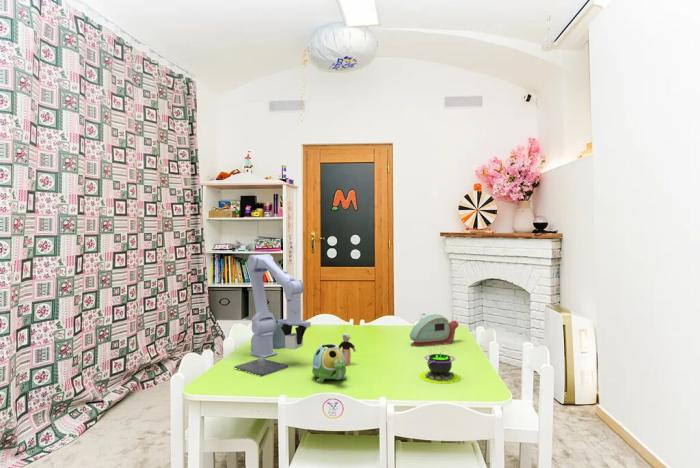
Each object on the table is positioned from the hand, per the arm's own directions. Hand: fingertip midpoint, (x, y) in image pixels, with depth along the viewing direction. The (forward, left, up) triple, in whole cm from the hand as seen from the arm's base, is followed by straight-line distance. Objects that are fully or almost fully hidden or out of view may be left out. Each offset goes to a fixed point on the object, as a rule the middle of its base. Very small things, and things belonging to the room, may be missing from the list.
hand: (294, 343), depth 188 cm
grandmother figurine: (+17, +12, -9) cm, 23 cm away
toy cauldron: (+55, +20, -9) cm, 59 cm away
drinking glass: (-27, +16, -9) cm, 32 cm away
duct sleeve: (0, 0, -1) cm, 1 cm away
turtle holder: (+24, -6, -9) cm, 26 cm away
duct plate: (-7, -12, -8) cm, 16 cm away
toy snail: (+30, +64, -9) cm, 71 cm away
